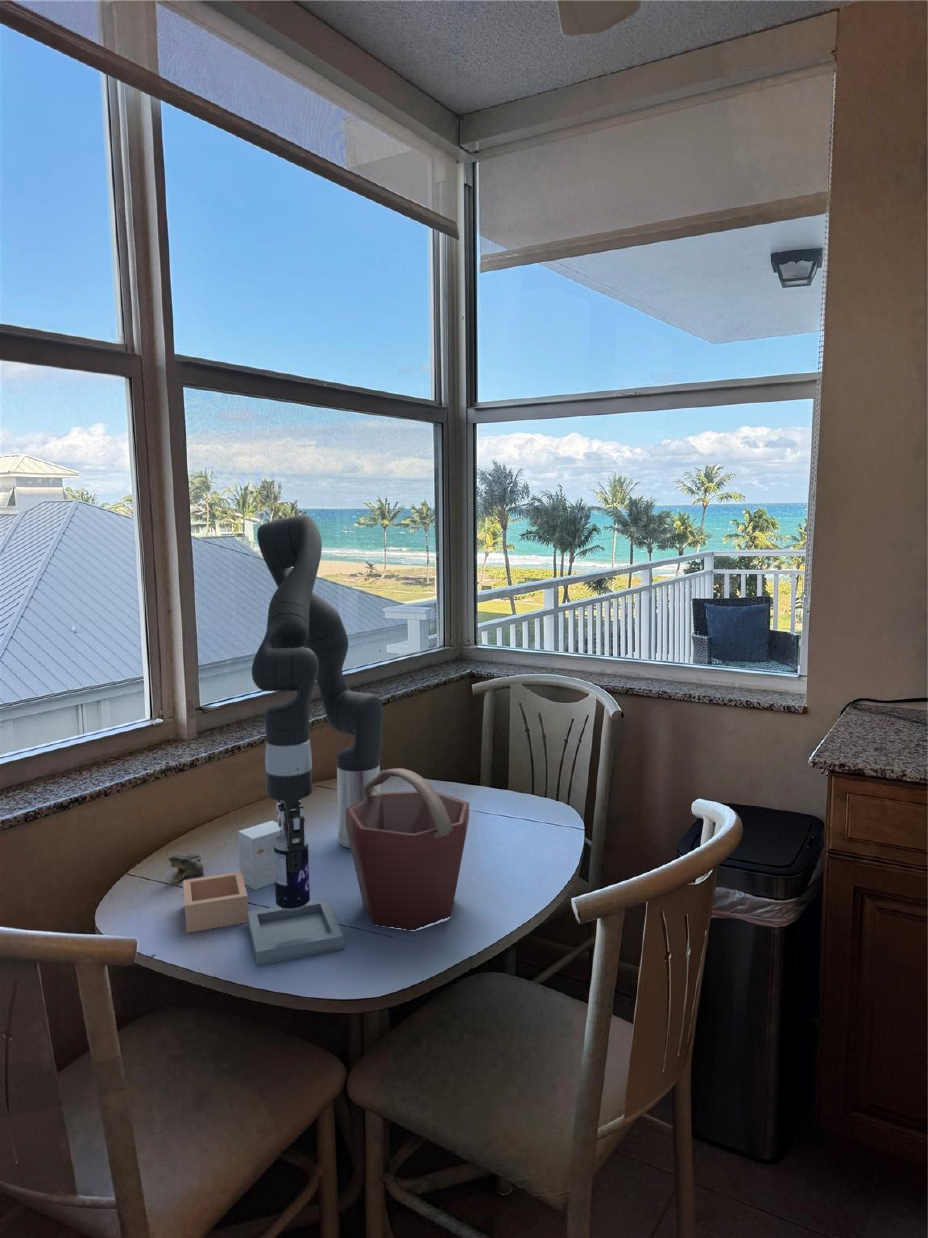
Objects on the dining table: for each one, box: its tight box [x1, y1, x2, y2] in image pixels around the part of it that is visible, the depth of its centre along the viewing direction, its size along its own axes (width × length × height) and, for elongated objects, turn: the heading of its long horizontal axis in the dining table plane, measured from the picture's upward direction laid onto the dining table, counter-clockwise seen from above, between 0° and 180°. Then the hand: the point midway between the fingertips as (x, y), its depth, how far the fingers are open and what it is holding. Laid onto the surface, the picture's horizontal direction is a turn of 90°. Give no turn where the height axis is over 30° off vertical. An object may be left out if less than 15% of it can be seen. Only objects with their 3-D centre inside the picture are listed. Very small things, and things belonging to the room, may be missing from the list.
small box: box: [237, 820, 281, 891], centre depth 161 cm, size 8×6×10 cm
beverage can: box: [274, 834, 311, 911], centre depth 139 cm, size 6×6×12 cm
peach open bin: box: [182, 871, 249, 934], centre depth 148 cm, size 10×10×5 cm
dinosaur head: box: [168, 853, 205, 884], centre depth 162 cm, size 8×6×7 cm
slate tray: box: [247, 898, 345, 967], centre depth 140 cm, size 14×14×2 cm
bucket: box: [345, 767, 470, 930], centre depth 149 cm, size 24×22×25 cm
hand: (291, 863), depth 138 cm, fingers closed on beverage can, 5 cm apart
